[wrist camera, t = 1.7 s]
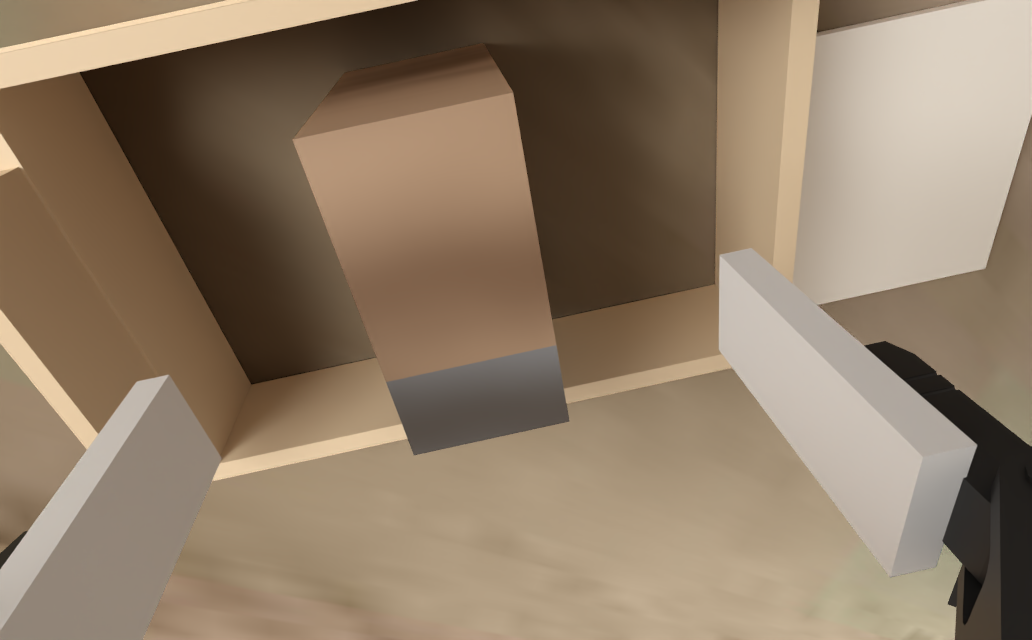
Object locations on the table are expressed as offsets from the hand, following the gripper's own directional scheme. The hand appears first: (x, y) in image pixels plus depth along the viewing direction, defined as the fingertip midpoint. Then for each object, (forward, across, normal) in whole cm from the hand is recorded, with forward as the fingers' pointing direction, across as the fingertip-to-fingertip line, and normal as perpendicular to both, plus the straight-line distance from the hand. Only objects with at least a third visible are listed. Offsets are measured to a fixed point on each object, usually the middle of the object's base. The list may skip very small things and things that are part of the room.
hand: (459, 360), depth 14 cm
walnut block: (+11, 0, 0) cm, 11 cm away
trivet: (+11, +19, -2) cm, 22 cm away
